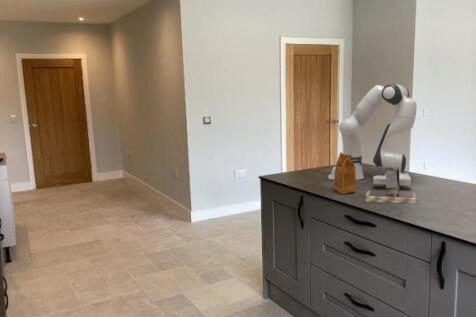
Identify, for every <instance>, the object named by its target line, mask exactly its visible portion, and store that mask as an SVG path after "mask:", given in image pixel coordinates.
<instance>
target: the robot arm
mask: <svg viewBox="0 0 476 317" xmlns="http://www.w3.org/2000/svg"><path fill="white" fill-rule="evenodd" d="M384 102H387V103H389V104H391V105H393V106H395V116H394V119H393V120H392V122H391V123H388V124H387V125H386V127H385V129H384V131H383V134H382V136H381V138H380V140H379V144H378V146H377V149H376V151H375V152H374V155H373V156H372V162H373V164H374V165H375V166H376V167H379V168H399V186H411V184H412V177H411V176H410V175H409V173H407V172H404V171H405V169H406V165H407V157H406V156H405V155H404V153H399V152H394V151H389V150H385V149H386V146H387V144H388V142H389V139H390V137H391V136H394V135H397V134H403V133H407V132H409V131H410V130H411V129H412V128H413V127H414V124H415V121H416V115H417V101H415V100H414V99H413V98H411V97H410V91H409V90H408V88H407V87H405V86H404V85H401V84H397V83H396V84H395V83H390V84H386V85H385V86H383V85H380V84H376V85H374V86H373V87H372V88H371V89H370V90H369V91H367V93H366V94H365V95H364V97H363V98H362V99H361V100H360V102H358V104H357V105H356V106H355V109H354V111H353V112H352V114H351V115H350V116H349V117H346V118H344V119H343V120H342V121H341V122H340V124H339V126H338V128H339V132H340V135H341V139H342V147H343V148H342V150H343V151H342V153H343V154H345V155H351V156H352V157H351V160H352V162H353V164H354V165H355V168H356V171H355V173H356V178H355V179H356V181H358V180H362V179H364V178H365V176H364V172H363V167H362V166H363V156H362V143H361V141H360V139H361V138H360V132H362V131H363V129H364V128H365V126H367V123H368V122H369V121H370V120H371V118H372V117H373V116H374V114H375V113H376V112H377V111H378V109H379V108H380V107H381V106H382V105H383V104H384ZM335 168H336V165H334V166H333V167H332V169H331V173H330V174H328V176H327V179H329V180H334V181H335V179H334V177H335ZM372 184H375V185H386V172H385V173H384V175H380V174H379V175H374V176H373V177H372Z"/></svg>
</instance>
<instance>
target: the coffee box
mask: <svg viewBox="0 0 476 317" xmlns="http://www.w3.org/2000/svg"><path fill="white" fill-rule="evenodd" d="M385 173H386V184H385V197H398V198H400V185H399V168H387V167H385Z"/></svg>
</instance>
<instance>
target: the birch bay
mask: <svg viewBox="0 0 476 317" xmlns="http://www.w3.org/2000/svg"><path fill="white" fill-rule="evenodd" d="M371 194H372V193H371V190H367V192H366V195H365V202H367V203H368V202H369V203H384V204H385V203H386V204H387V203H389V204H409V205H412V204H413V205H417V192H412V197H399V198H398V197H386V196H373V195H372V196H371Z"/></svg>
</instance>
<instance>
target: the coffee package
mask: <svg viewBox="0 0 476 317" xmlns="http://www.w3.org/2000/svg"><path fill="white" fill-rule="evenodd" d="M351 157H352V156H351V155H345V154H343V151H341V152H339V155H338V158H337V160H336V165H335V166H336V168H335V177H334V179H335V180H334V179H333V180H334V191H336V192H337V193H338V194H342V195H345V194H348V193H354V192H356V188H357V180H356V179H355V178H356V173H355V171H356V168H355V165H354V164H353V162H352V160H351Z"/></svg>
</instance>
